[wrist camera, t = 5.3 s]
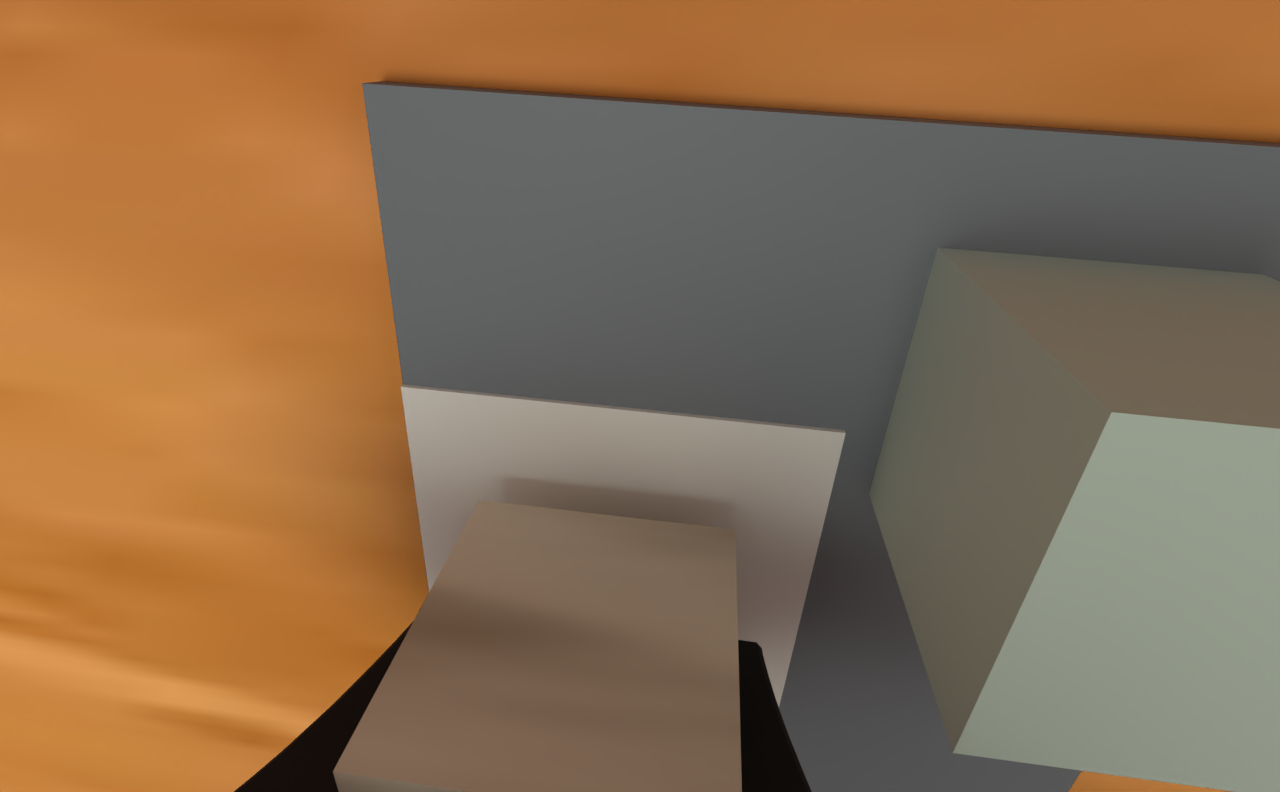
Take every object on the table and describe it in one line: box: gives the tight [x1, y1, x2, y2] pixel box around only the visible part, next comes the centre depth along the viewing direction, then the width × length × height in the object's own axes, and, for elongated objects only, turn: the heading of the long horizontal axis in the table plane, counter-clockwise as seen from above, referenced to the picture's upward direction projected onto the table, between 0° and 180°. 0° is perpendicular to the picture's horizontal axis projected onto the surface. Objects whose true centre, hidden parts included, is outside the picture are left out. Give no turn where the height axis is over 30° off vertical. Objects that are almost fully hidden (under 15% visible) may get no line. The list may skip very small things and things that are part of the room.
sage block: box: [869, 247, 1280, 792], centre depth 9 cm, size 5×5×5 cm
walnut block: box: [333, 500, 742, 792], centre depth 10 cm, size 5×5×5 cm
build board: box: [362, 81, 1280, 792], centre depth 14 cm, size 18×15×1 cm
